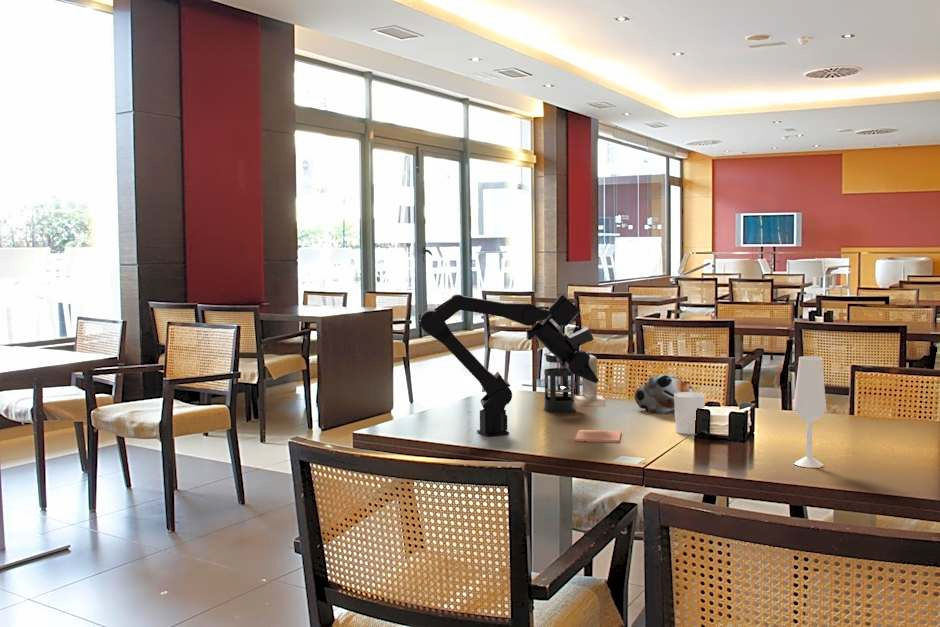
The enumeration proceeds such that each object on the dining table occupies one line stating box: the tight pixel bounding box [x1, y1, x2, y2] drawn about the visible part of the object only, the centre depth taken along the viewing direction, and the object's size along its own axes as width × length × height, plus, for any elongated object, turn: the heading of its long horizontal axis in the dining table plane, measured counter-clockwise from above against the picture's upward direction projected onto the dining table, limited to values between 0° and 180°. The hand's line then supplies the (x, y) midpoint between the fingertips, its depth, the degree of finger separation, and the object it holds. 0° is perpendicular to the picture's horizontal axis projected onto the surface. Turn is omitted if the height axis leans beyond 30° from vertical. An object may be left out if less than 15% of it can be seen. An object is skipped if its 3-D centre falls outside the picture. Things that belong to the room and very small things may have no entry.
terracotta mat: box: [574, 429, 622, 444], centre depth 228 cm, size 11×11×1 cm
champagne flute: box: [793, 355, 827, 467], centre depth 196 cm, size 7×7×24 cm
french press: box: [543, 333, 581, 413], centre depth 266 cm, size 12×9×23 cm
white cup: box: [674, 391, 706, 436], centre depth 232 cm, size 8×8×10 cm
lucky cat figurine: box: [634, 373, 695, 415], centre depth 261 cm, size 15×12×14 cm
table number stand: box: [574, 354, 606, 408], centre depth 235 cm, size 7×6×13 cm
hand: (594, 380), depth 235 cm, fingers closed on table number stand, 6 cm apart
